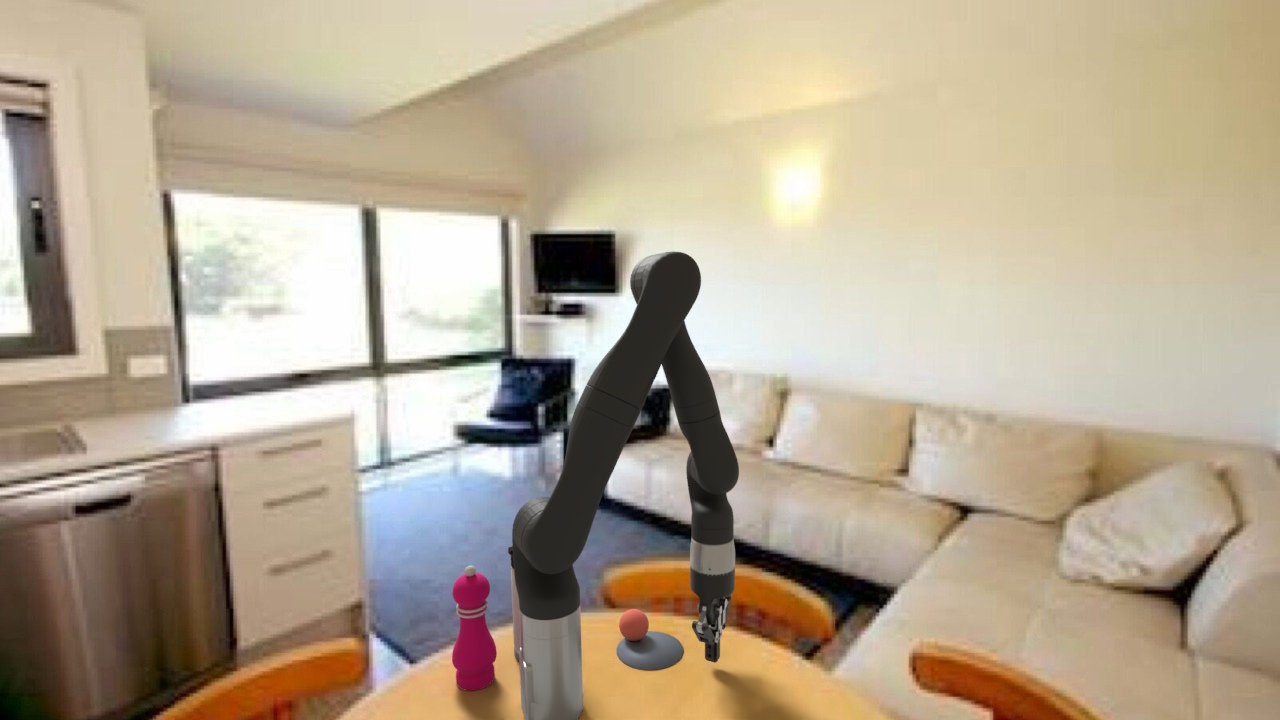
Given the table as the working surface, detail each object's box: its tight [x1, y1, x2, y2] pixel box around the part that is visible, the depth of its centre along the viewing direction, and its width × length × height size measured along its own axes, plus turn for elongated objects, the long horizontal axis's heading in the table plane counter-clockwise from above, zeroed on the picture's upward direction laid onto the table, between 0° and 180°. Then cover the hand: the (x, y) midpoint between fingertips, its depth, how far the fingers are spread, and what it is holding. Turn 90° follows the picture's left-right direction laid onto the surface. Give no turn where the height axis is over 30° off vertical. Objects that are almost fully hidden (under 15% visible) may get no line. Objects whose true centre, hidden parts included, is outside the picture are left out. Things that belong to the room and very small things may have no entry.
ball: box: [618, 608, 650, 641], centre depth 120 cm, size 6×6×6 cm
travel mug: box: [507, 545, 521, 660], centre depth 115 cm, size 6×7×20 cm
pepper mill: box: [451, 565, 497, 692], centre depth 107 cm, size 7×7×20 cm
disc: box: [615, 630, 684, 671], centre depth 117 cm, size 12×12×1 cm
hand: (712, 659), depth 111 cm, fingers closed
